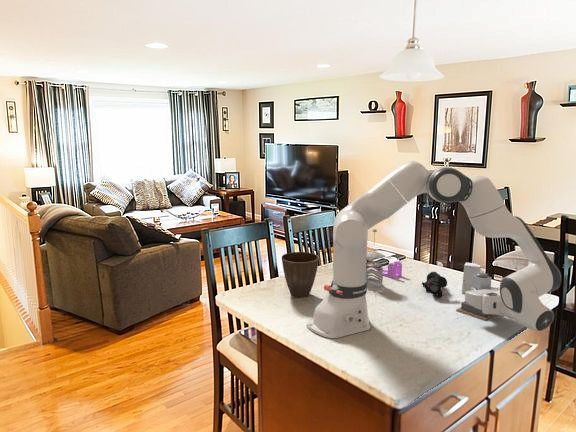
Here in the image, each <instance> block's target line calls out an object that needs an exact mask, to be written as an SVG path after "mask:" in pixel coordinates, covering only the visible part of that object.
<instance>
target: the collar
mask: <svg viewBox="0 0 576 432" xmlns="http://www.w3.org/2000/svg"><path fill="white" fill-rule="evenodd" d="M455 311H456V312H459V313H462V314H465V315H468V316H470V317H473V318H476V319H480V320H482V321H487V320H490V319H491V318H493V317H495V316H496V315H494V314H485V313H483V312H482V310H480V309H477V308H475V307H473V306H471V305H470V304H468V303H467V302H466V301H465V300H464V301H462V302H461V303H460V307H458V308H456V310H455Z"/></svg>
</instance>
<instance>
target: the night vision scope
mask: <svg viewBox="0 0 576 432" xmlns="http://www.w3.org/2000/svg"><path fill="white" fill-rule="evenodd" d="M421 285H422V287H423V288H424V289H425V291H426V292H429V294H431V295H435V296H437V297H438V298H442V297H443V288H446V287H447V285H448V281H447V279H446V278H445V277H444V276H441V274H439V273H438V272H437V271H431V272H429V273H428V274H427V275H426V280H425V282H423V281H422V282H421Z"/></svg>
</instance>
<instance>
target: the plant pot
mask: <svg viewBox="0 0 576 432" xmlns="http://www.w3.org/2000/svg"><path fill="white" fill-rule="evenodd" d="M319 259H320V257H319V255H318V254H315V253H312V252H308V251H294V252H287V253H285V254H282V255H281V263H282V269H283V273H284V274H283V275H284V278H285V282H286V286H287V288H288V290H289V293H290V297H293V298H297V299H305V298H308V297H309V296H310V294H311V291H312V288H313V286H314V283H315V279H316V277H317V276H316V275H317V271H318V266H319ZM304 297H305V298H304Z"/></svg>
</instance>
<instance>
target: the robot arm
mask: <svg viewBox="0 0 576 432" xmlns="http://www.w3.org/2000/svg"><path fill="white" fill-rule="evenodd" d="M499 192H500V191H498V189H497V188H496V186H495V184H494V183H493V182H492V181H491V178H489V177H486V176H475V177H471V178H469V177H468V176H466V175H465V174H464V173H462V172H461V171H460V170H458V169H456V168H452V167H448V166H447V167H446V166H445V167H443V166H442V167H439V168H436V169H431V170H428V169H427V168H426V167H425V166H424V165H423V164H422V163H420V162H418V161H415V160H411V161H408V162H406V163H404V164H402V165H400V166H399V167H397V168H396V169H394V170H393V171H392V172H390V173H388V174H387V175H386V176H385V177H384V178H382V179H381V180H380V181H378V182H377V183H376V184H375V185H374V186H373V187H371V188H370V189H369V190H368V191H366V192H365V193H363V194H362V195H360V196H359V197H357V198H356V199H354V200H353V201H351V203H348V205H346V206H345V207H344V208H342V209H341V210H340V211H338V213H337V214H336V216H335V219H334V222H333V228H332V229H333V230H332V232H333V233H332V238H333V239H332V243H333V244H332V245H333V246H332V248H333V250H332V253H333V254H332V255H333V258H332V259H333V261H332V262H333V264H332V266H333V267H332V268H333V269H332V273H333V274H332V280H331V283H330V285H329V284H327V283H325V284H324V286H323V290H324V291H326V292H328V294H327V295H326V296H325V297H324V298H322V301H321V302H320V303H319V304H318V305H317V306H315V308H314V310H313V311H314V313H313V318H312V319H310V320H308V321H307V322H306V327H307V329H309V330H310V331H312V332H313V333H315V334H317V335H318V336H319V335H320V337H325V338H328V339H338V338H342V337H345V336H350V335H355V334H358V333H363V332H366V331H369V330H371V324H370V319H369V314H368V313H369V312H368V310H369V309H368V304H367V298H366V296H367V293H368V289H367V283H366V263H367V257H366V256H367V252H368V237H369V236H368V235H369V234H368V232H369V230H370V229H371V228H373V227H375V226H376V225H378V224H379V223H382V222H383V221H385V220H386V219H389V218H391V217H392V216H393V215H394V214H396V213H397V212H398V211H399V210H401V209H402V208H403V207H404V206H405V205H407V204H408V203H409V202H411V201H412V200H414V198H416V197H417V196H419V195H421V194H426V195H428V196H429V197H430V198H432V199H433V200H435V202H438V203H445V204H448V203H458V202H459V203H460V204H461V205H462V207H463V208H464V210H465V211H466V215H467V217H468V219H469V221H470V223H471V226H472V228H473V229H474V230H475V232H477V233H478V234H479V235H480V236H483V237H486V238H489V239H490V238H491V239H492V238H493V239H494V238H495V239H499V238H501V239H502V238H510V239H511V240H513V241H515V242H516V244H517V246H518V247H519V248H520V250H521V251H522V253H523V254H524V256H525V257H526V259H527V261H528V264H527V266H524V267H522V268H521V269H519V270H517V271H515V272H512V273H510V274H509V275H507V276H505V277H503V278H502V279H501V280H500V284H499V287H495V286H491V288H490V289H481V290H478V288H475V287H473V288H471V291H466V293H465V294H464V301H466V302H467V303H468V304H470V305H471V306H473V307H475V308H477V309H480V310H482V312H483V313H485V314H494V315H495V316H500V317H501V316H502V317H506V318H508V319H510V320H513V321H514V322H516V323H517V324H519V325H521V326H523V327H524V328H527V329H530V330H533V331H536V332H539V331H540V332H541V331H544V330H546V329H547V328H549V327H550V326H551V325H552V323H553V322H554V320H555V313H554V311H553V310H552V309H551V308H549V307H548V306H546V305H544V304H543V302H542V301H541V300H540V297H541V296H544V295H547V294H549V293H552V292H554V291H556V290H559V288H560V287H561V284H562V273H561V271H560V269H559V268H558V266H557V265H556V264H555V263H554V262H553V261H552V260H551V259H550V258H549V256H548V255H547V253H546V252H545V250H544V248H543V247H542V245H541V244H540V242H539V241H538V239H537V237H535V236H536V235H534V233H533V232H532V231H531V229H530V227H529V226H528V225H527V224H526V222H525V221H524V220H523V219H522V218H521V217H519V216H516V215H513V213H511V212H510V210H509V209H508V208H507V205H506V204H505V202H504V200H503V198H502V195H501V194H500V193H499Z"/></svg>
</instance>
